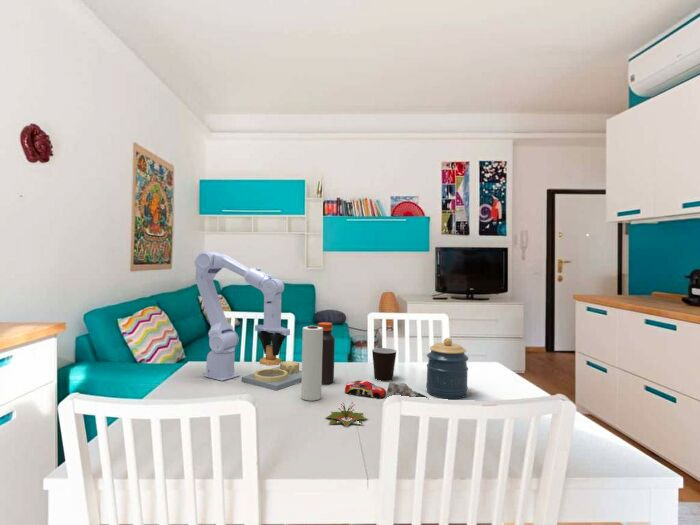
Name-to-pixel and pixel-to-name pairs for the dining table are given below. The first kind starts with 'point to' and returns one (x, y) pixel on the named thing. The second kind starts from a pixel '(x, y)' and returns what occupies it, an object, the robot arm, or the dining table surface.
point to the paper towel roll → (312, 363)
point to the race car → (365, 389)
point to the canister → (447, 370)
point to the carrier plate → (274, 384)
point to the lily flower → (345, 416)
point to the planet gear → (270, 357)
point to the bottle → (327, 353)
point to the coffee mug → (383, 363)
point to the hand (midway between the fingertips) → (271, 354)
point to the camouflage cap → (401, 390)
